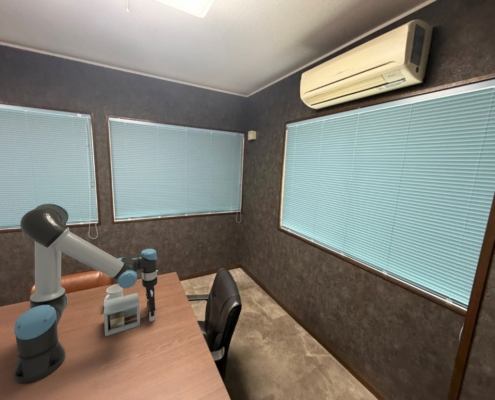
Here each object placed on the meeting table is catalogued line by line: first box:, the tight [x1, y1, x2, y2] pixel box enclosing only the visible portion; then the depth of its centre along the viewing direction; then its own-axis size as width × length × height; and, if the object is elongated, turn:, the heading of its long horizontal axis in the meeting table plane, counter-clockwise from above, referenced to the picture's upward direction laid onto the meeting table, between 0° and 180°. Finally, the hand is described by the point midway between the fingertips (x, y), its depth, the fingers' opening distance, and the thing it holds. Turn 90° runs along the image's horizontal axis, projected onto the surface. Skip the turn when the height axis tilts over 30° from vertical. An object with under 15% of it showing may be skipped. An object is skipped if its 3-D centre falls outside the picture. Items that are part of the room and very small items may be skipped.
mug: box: [103, 284, 124, 307], centre depth 125 cm, size 12×8×10 cm
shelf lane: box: [103, 292, 141, 337], centre depth 112 cm, size 15×11×12 cm
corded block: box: [109, 301, 150, 330], centre depth 115 cm, size 20×6×8 cm, turn 122°
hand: (150, 314), depth 120 cm, fingers open, 9 cm apart
